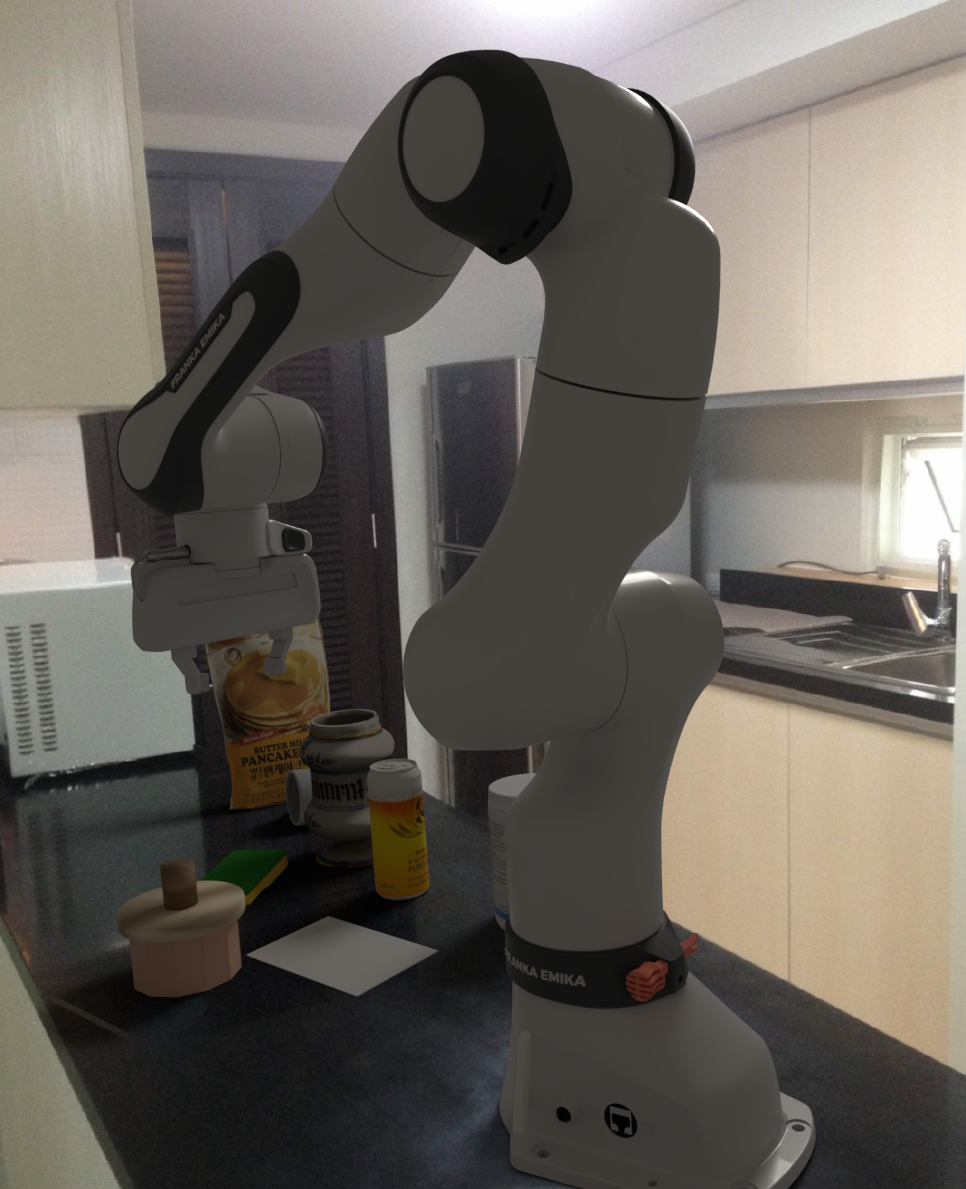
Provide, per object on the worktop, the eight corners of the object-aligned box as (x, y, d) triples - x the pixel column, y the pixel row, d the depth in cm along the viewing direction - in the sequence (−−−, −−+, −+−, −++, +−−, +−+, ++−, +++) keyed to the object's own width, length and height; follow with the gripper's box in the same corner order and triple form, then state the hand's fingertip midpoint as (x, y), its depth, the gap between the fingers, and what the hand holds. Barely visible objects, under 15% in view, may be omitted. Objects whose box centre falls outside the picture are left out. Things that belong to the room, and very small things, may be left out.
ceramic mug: (358, 820, 150) (354, 766, 150) (302, 832, 147) (297, 777, 146) (333, 803, 160) (329, 752, 159) (279, 814, 156) (275, 762, 156)
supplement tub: (581, 943, 107) (572, 798, 105) (487, 941, 109) (477, 798, 107) (591, 904, 116) (584, 770, 115) (504, 902, 118) (496, 771, 117)
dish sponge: (189, 912, 122) (187, 892, 122) (234, 868, 136) (233, 849, 136) (249, 912, 121) (247, 891, 121) (289, 867, 135) (287, 848, 135)
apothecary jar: (295, 874, 131) (282, 729, 129) (323, 840, 143) (312, 706, 141) (392, 873, 129) (381, 725, 127) (412, 839, 141) (402, 703, 139)
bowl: (262, 967, 106) (256, 908, 105) (174, 1010, 98) (167, 947, 98) (200, 944, 112) (195, 888, 112) (113, 982, 105) (107, 923, 104)
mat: (438, 954, 106) (438, 950, 106) (357, 1000, 98) (357, 996, 98) (328, 919, 117) (328, 916, 117) (246, 958, 108) (246, 954, 108)
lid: (270, 907, 105) (266, 855, 105) (164, 953, 96) (159, 897, 96) (197, 883, 113) (192, 835, 113) (92, 924, 104) (87, 872, 103)
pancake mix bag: (213, 805, 162) (195, 620, 159) (332, 781, 171) (318, 606, 168) (225, 816, 156) (207, 624, 153) (348, 791, 165) (333, 609, 162)
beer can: (422, 905, 119) (412, 772, 117) (369, 904, 120) (358, 772, 119) (435, 884, 125) (426, 757, 123) (385, 883, 126) (375, 757, 124)
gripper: (150, 550, 94) (166, 707, 95) (323, 532, 110) (336, 667, 111) (109, 552, 98) (126, 702, 99) (282, 534, 114) (295, 664, 115)
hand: (238, 683), depth 105 cm, fingers open, 8 cm apart
